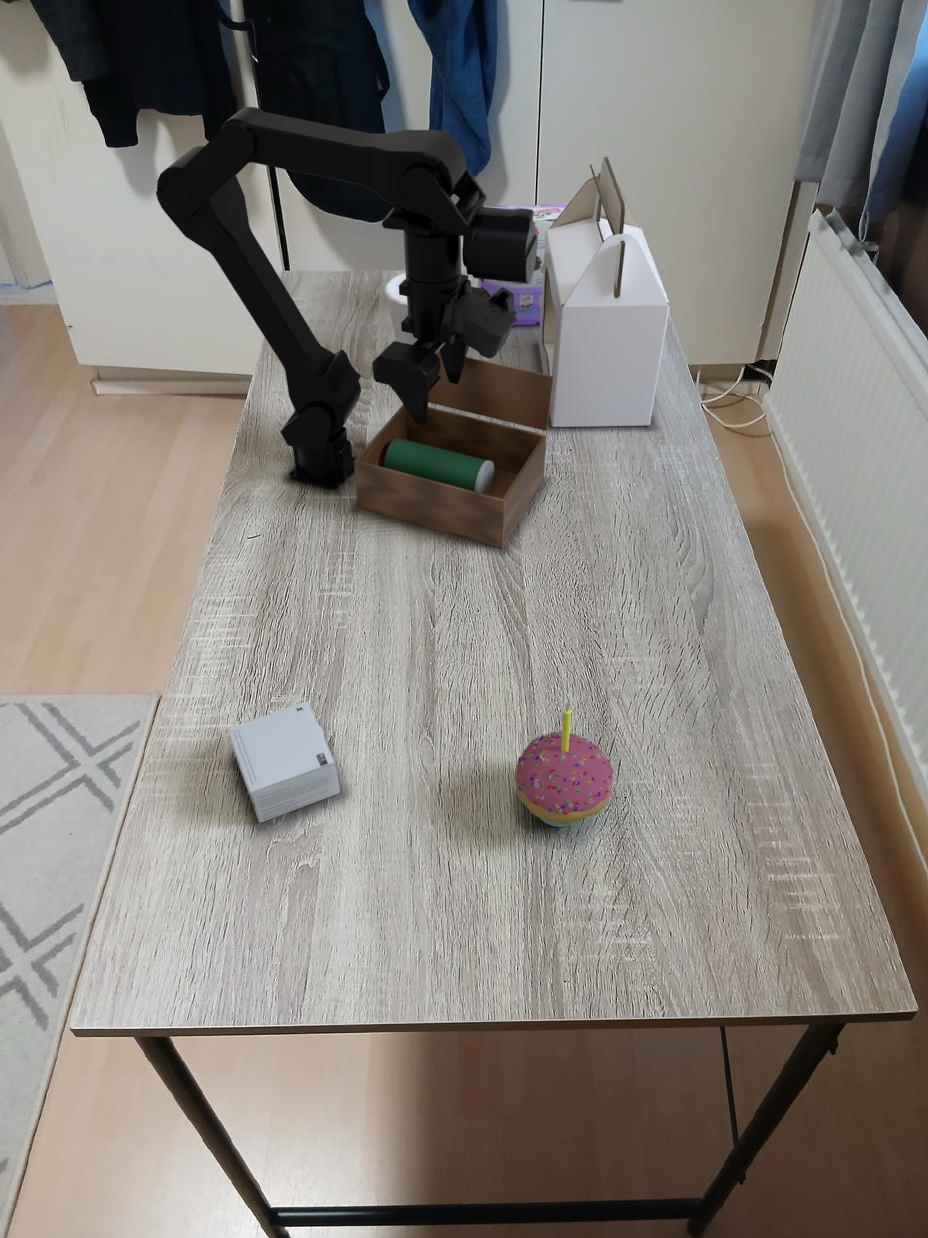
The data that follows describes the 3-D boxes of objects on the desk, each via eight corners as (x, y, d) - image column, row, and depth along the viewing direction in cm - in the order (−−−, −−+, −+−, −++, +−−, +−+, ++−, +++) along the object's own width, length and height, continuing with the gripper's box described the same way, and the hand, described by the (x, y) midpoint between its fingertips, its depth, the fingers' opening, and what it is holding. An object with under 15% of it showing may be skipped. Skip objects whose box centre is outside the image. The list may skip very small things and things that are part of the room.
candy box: (563, 306, 147) (571, 201, 136) (568, 325, 143) (577, 218, 132) (476, 309, 147) (477, 203, 135) (479, 327, 143) (480, 220, 131)
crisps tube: (379, 468, 112) (474, 493, 108) (394, 430, 113) (489, 454, 109) (392, 484, 117) (483, 508, 113) (405, 447, 117) (497, 470, 114)
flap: (406, 344, 112) (407, 343, 112) (405, 397, 116) (406, 396, 116) (553, 376, 106) (554, 376, 107) (546, 430, 110) (547, 430, 111)
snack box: (358, 507, 112) (353, 461, 107) (408, 446, 121) (405, 400, 116) (502, 548, 107) (504, 501, 102) (543, 481, 116) (546, 435, 111)
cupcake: (507, 769, 86) (512, 685, 77) (598, 762, 86) (613, 678, 78) (519, 851, 80) (525, 770, 71) (616, 843, 80) (634, 762, 72)
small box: (235, 759, 87) (225, 726, 83) (315, 731, 89) (309, 697, 85) (258, 826, 82) (248, 793, 78) (342, 794, 84) (336, 761, 80)
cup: (472, 367, 135) (472, 281, 125) (434, 399, 129) (431, 312, 119) (415, 348, 138) (412, 263, 129) (376, 379, 133) (369, 292, 123)
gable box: (538, 344, 139) (550, 146, 119) (625, 342, 140) (652, 145, 119) (551, 429, 124) (568, 218, 104) (650, 427, 124) (686, 216, 104)
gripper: (469, 327, 87) (469, 464, 98) (539, 247, 99) (532, 377, 110) (364, 305, 90) (376, 440, 101) (443, 230, 102) (446, 358, 113)
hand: (437, 402), depth 106 cm, fingers open, 9 cm apart
